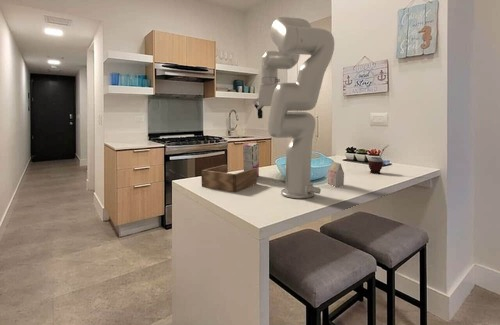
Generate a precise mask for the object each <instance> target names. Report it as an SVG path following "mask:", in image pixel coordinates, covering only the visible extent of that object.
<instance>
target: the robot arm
mask: <svg viewBox="0 0 500 325" xmlns="http://www.w3.org/2000/svg"><path fill="white" fill-rule="evenodd" d="M270 38H271V40H272V42H273V43H274V44H275V45H276V47H277V49H278V50H267V51H265V53H264V54H263V55H262V56H261V84H260V85H259V90H258V97H257V98H256V99H254V100H253V101H252V104H254V108H256V110H257V119H263V110H262V109H263V108H264V107H270V109H269V114H268V115H269V116H268V122H267V129H268V134H269V135H270V136H271V137H273V138H277V139H282V138H283V139H287V138H288V139H290V138H291V140H290V141H289V143H288V144H287V146H286V149H285V150H286V151H285V184H284V186H285V188H283V189H282V190H281V191H280V194H281V195H282V196H284V197H286V198H291V199H308V198H312V197H314V196H315V194H320V193H321V188H320V187H319V186H318V187H317V186H314V183H313V182H311V178H312V177H311V176H312V175H311V174H312V173H311V172H312V150H313V149H312V148H313V139H314V134H315V129H316V118H315V117H314V115H313V114H312V113H310V112H307V111H311V110H314V108H315V107H316V105H317V103H318V100H319V97H320V96H319V95H320V92H321V89H322V83H323V79H324V76H325V73H326V71H327V69H328V66H329V64H330V63H331V60H332V57H333V55H334V51H335V38H334V35H333V33H332V32H331V31H329V30H327V29H324V28H319V27H312V25H311V23H310V22H309V21H308V20H307V19H304V18H301V17H300V18H298V17H289V16H280V17H277V18H276V19H275V20H273V22H272V24H271V27H270ZM300 55H307V56H308V55H309V57H308V58H307V59H306V60H304V62H303V63H302V65H301V66H300V67H299V69H298V72H297V73H298V74H297V77H296V78H297V79H296V81H295V82H281V83H280V81H281V79H280V78H278V74H279V73H278V70H290V69H292V68H294V67H295V66H296V65H297V63H298V62H299V60H300V57H301V56H300ZM278 83H279V84H278Z"/></svg>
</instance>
